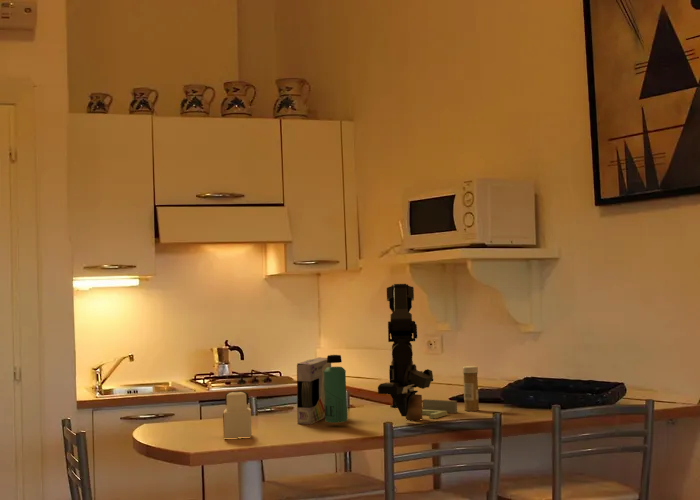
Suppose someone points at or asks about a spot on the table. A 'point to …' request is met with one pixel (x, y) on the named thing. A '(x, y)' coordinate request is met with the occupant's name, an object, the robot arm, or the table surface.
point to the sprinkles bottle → (471, 388)
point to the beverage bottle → (335, 391)
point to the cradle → (434, 413)
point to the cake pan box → (311, 390)
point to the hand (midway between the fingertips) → (404, 416)
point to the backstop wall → (440, 405)
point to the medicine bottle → (237, 415)
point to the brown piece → (415, 408)
